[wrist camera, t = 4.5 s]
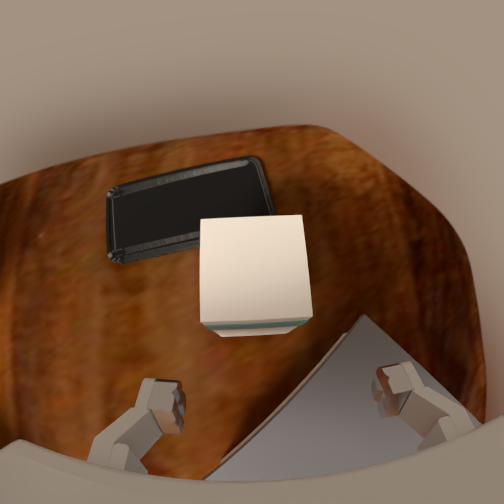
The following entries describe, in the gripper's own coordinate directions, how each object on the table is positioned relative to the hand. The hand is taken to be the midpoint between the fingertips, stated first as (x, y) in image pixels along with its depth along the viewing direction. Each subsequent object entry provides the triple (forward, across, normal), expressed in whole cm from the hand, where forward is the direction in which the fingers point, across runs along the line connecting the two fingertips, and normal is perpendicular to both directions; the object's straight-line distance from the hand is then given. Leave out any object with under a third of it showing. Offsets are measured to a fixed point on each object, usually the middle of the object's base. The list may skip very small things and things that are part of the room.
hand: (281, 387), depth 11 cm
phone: (+18, +7, -2) cm, 19 cm away
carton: (+12, +1, +4) cm, 12 cm away
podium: (+2, -6, +13) cm, 14 cm away
